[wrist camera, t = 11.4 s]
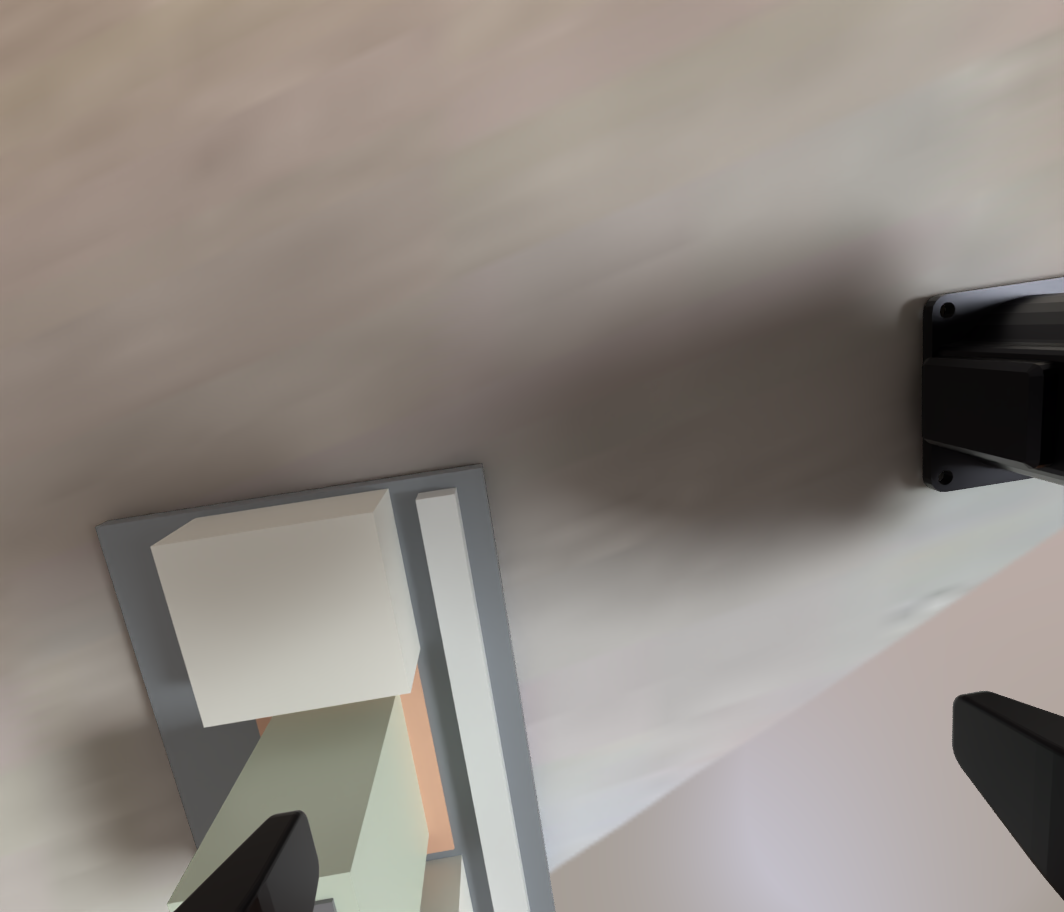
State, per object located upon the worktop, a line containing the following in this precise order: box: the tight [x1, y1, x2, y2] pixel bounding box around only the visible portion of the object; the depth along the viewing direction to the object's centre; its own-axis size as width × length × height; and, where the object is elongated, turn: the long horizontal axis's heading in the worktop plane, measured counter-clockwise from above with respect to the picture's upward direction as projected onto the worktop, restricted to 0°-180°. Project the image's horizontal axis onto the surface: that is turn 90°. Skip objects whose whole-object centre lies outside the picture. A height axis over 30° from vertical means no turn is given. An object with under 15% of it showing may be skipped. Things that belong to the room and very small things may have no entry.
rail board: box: [95, 464, 555, 912], centre depth 20 cm, size 12×20×3 cm, turn 8°
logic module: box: [167, 695, 429, 912], centre depth 17 cm, size 4×6×7 cm, turn 8°
